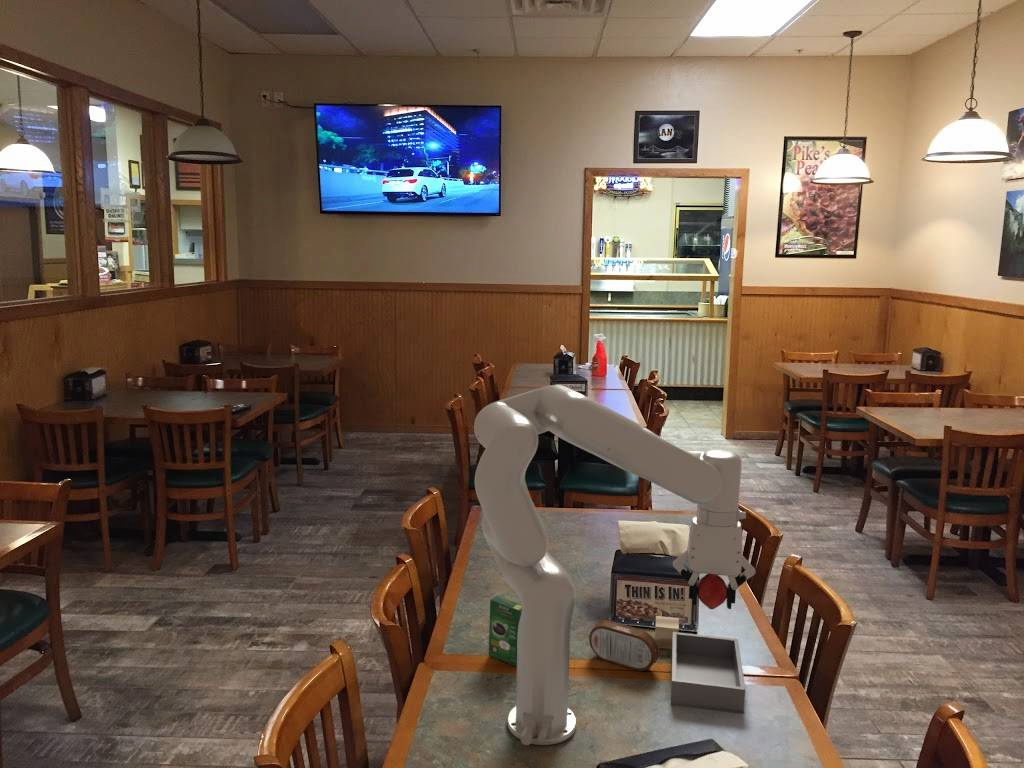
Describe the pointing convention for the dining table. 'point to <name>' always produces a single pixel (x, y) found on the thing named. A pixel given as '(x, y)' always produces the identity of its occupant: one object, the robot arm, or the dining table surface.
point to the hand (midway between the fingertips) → (711, 603)
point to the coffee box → (504, 629)
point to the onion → (712, 590)
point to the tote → (707, 673)
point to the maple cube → (665, 631)
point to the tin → (623, 645)
